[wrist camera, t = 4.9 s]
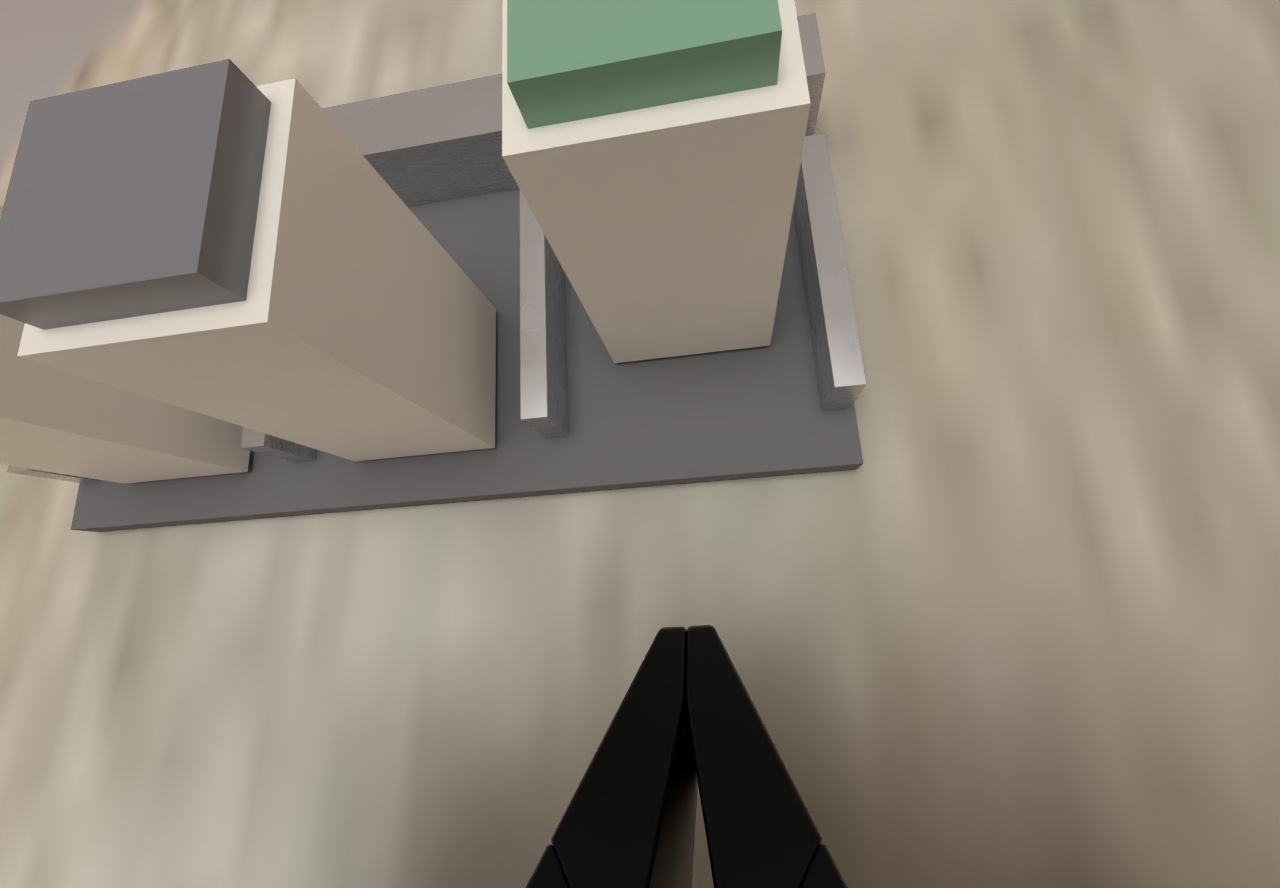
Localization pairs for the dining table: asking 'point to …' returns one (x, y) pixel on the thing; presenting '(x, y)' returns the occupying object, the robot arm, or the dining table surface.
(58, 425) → the key
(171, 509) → the key mat
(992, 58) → the dining table surface
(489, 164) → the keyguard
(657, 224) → the key
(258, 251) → the key
